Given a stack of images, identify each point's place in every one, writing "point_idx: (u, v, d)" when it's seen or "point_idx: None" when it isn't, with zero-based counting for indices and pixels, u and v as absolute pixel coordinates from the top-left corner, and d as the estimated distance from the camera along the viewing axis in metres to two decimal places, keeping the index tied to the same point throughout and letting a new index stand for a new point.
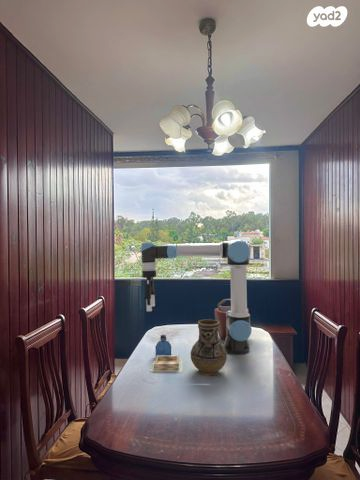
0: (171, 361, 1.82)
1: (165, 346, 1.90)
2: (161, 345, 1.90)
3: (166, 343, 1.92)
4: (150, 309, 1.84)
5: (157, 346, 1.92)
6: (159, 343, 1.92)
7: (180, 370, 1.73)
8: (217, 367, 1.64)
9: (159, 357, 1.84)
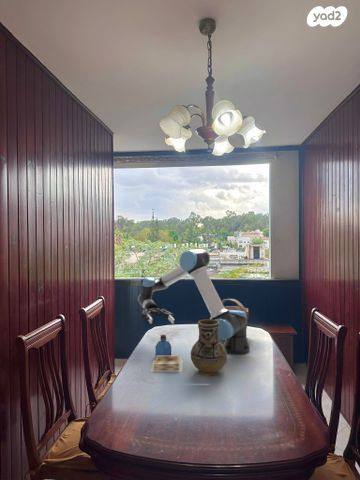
0: (171, 361, 1.82)
1: (165, 346, 1.90)
2: (161, 345, 1.90)
3: (166, 343, 1.91)
4: (150, 319, 1.96)
5: (157, 346, 1.92)
6: (159, 343, 1.92)
7: (180, 370, 1.73)
8: (217, 367, 1.64)
9: (159, 357, 1.84)
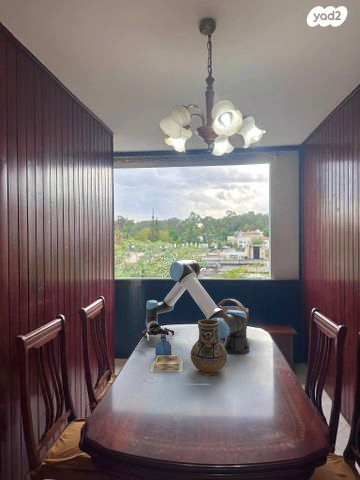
0: (171, 361, 1.82)
1: (165, 346, 1.90)
2: (161, 345, 1.90)
3: (166, 343, 1.92)
4: (147, 337, 2.02)
5: (157, 346, 1.92)
6: (159, 343, 1.92)
7: (180, 370, 1.73)
8: (217, 367, 1.64)
9: (159, 357, 1.84)
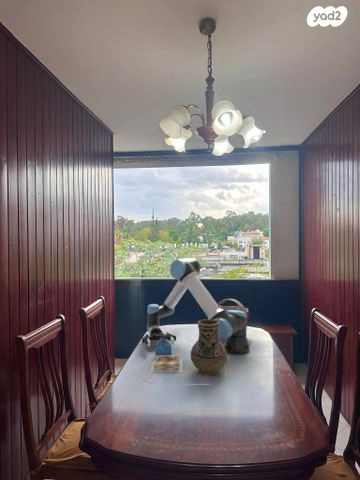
0: (171, 361, 1.82)
1: (165, 346, 1.90)
2: (161, 345, 1.90)
3: (166, 343, 1.91)
4: (148, 342, 1.95)
5: (157, 346, 1.92)
6: (159, 343, 1.92)
7: (180, 370, 1.73)
8: (217, 367, 1.64)
9: (159, 357, 1.84)
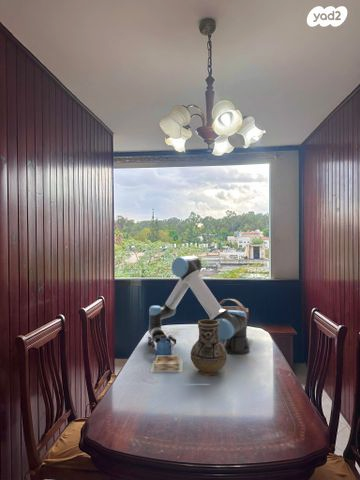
0: (171, 361, 1.82)
1: (165, 346, 1.90)
2: (161, 345, 1.90)
3: (166, 343, 1.92)
4: (155, 345, 1.88)
5: (157, 346, 1.92)
6: (159, 343, 1.92)
7: (180, 370, 1.73)
8: (217, 367, 1.64)
9: (159, 357, 1.84)
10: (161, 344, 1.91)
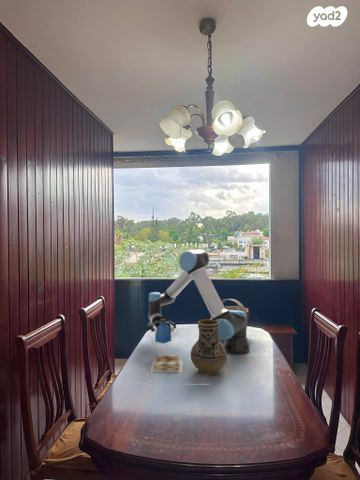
0: (171, 361, 1.82)
1: (165, 330, 1.90)
2: (161, 329, 1.90)
3: (165, 327, 1.91)
4: (155, 329, 1.88)
5: None
6: (159, 327, 1.92)
7: (180, 370, 1.73)
8: (217, 367, 1.64)
9: (159, 357, 1.84)
10: (161, 328, 1.91)
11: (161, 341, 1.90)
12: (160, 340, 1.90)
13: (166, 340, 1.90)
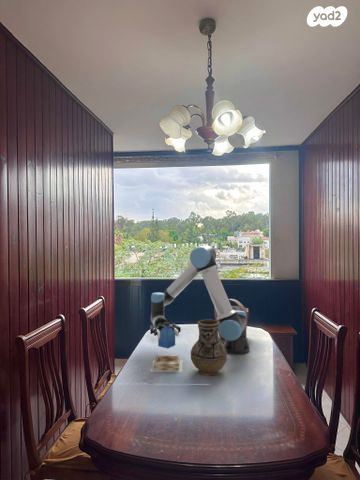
0: (171, 361, 1.82)
1: (169, 334, 1.76)
2: (164, 333, 1.76)
3: (169, 330, 1.77)
4: (158, 333, 1.74)
5: (160, 334, 1.78)
6: (162, 331, 1.78)
7: (180, 370, 1.73)
8: (217, 367, 1.64)
9: (159, 357, 1.84)
10: (164, 332, 1.77)
11: (164, 346, 1.76)
12: (164, 344, 1.76)
13: (170, 345, 1.76)
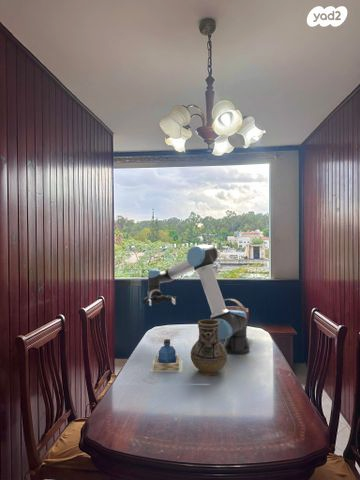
0: None
1: (169, 352, 1.76)
2: (165, 350, 1.76)
3: (170, 348, 1.77)
4: (149, 301, 1.93)
5: (160, 352, 1.78)
6: (162, 348, 1.78)
7: (180, 370, 1.73)
8: (217, 367, 1.64)
9: None
10: (165, 349, 1.77)
11: None
12: (164, 362, 1.76)
13: (170, 362, 1.76)
